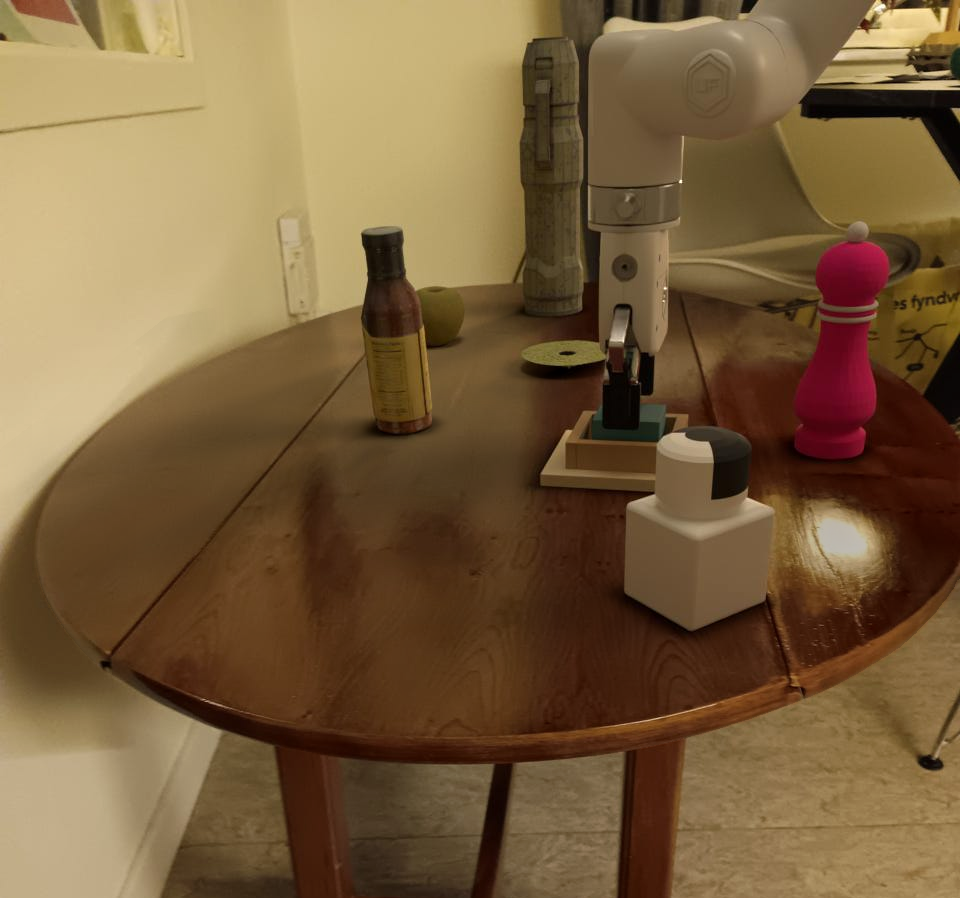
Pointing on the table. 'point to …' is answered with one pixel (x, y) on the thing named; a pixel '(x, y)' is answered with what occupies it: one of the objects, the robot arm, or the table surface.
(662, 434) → the teal block
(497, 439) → the table surface
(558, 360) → the green disc with hole
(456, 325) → the apple
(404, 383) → the sauce bottle
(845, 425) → the pepper mill
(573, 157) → the thermos
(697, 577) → the medicine bottle
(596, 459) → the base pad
